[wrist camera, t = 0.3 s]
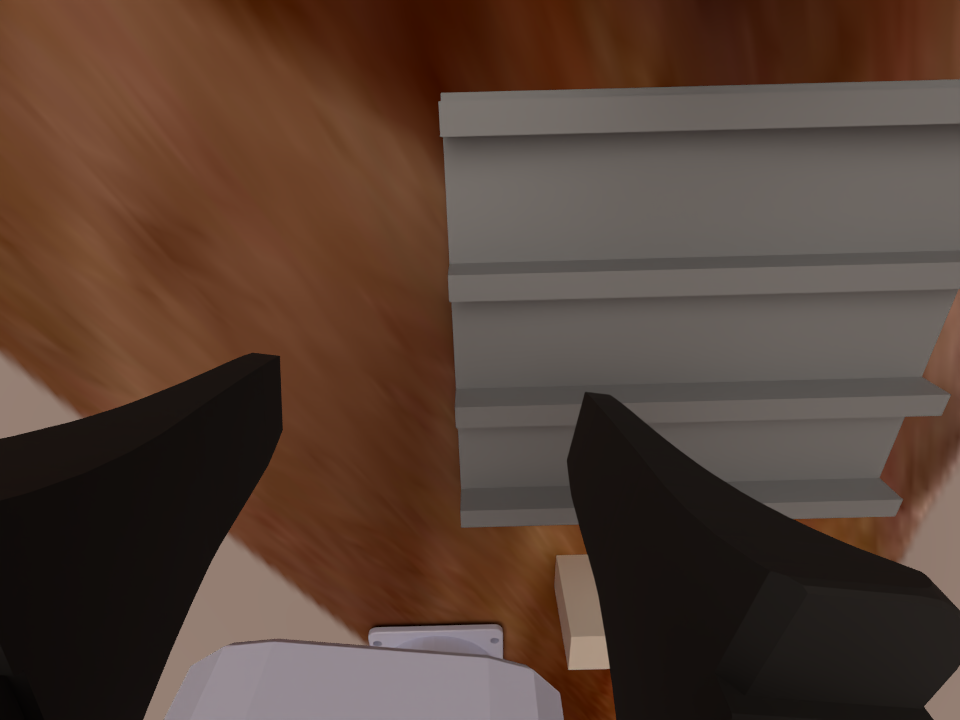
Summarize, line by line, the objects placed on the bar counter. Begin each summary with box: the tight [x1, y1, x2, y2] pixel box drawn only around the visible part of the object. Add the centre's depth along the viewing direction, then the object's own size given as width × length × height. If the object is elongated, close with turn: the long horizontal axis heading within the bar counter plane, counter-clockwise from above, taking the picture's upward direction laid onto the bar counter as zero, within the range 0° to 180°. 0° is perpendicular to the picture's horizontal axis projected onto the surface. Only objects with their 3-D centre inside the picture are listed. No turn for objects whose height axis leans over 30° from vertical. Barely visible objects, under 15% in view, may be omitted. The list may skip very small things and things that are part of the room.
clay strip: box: [554, 555, 610, 670], centre depth 27 cm, size 14×2×5 cm, turn 91°
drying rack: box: [439, 80, 960, 527], centre depth 21 cm, size 18×20×3 cm
